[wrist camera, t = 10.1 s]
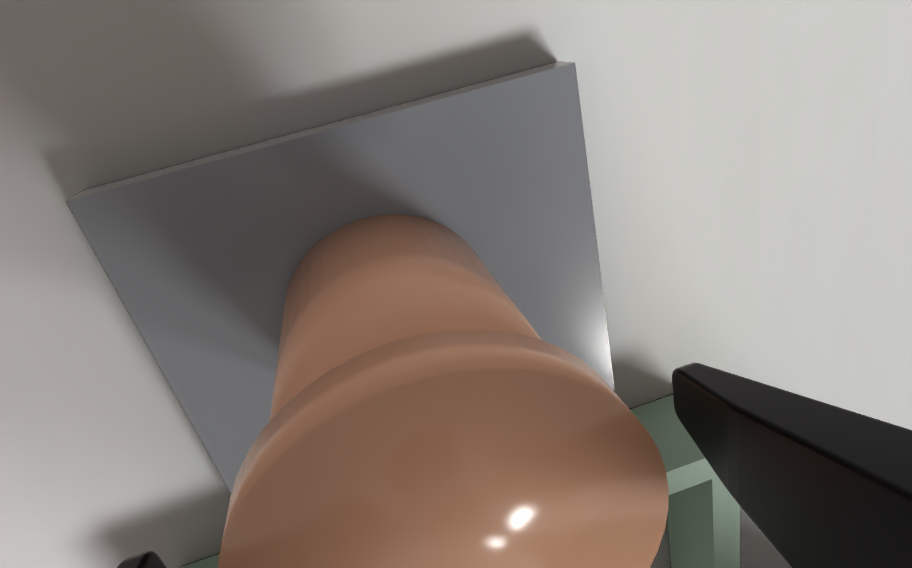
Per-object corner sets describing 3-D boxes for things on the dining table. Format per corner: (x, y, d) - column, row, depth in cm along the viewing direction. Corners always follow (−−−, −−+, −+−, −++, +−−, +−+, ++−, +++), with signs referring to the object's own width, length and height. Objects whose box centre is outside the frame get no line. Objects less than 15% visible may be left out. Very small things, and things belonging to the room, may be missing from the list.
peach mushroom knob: (480, 168, 14) (654, 301, 7) (522, 372, 17) (678, 621, 9) (226, 240, 13) (119, 476, 6) (315, 441, 16) (313, 767, 9)
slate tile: (558, 61, 14) (575, 62, 13) (600, 372, 19) (614, 389, 18) (83, 190, 13) (65, 201, 12) (247, 492, 17) (243, 516, 16)
